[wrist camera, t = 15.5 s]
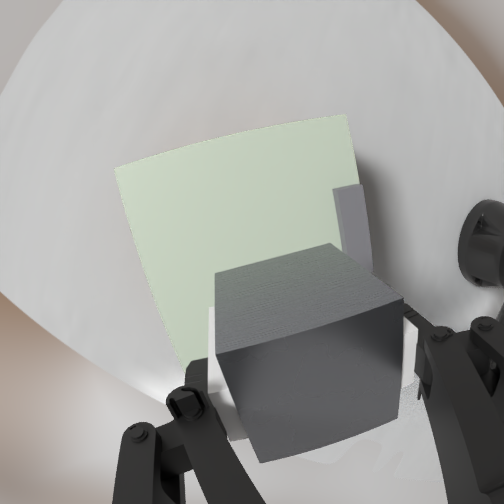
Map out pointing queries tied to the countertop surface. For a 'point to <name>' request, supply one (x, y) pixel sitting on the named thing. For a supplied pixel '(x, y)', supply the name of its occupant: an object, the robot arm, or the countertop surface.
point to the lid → (239, 213)
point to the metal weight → (308, 349)
